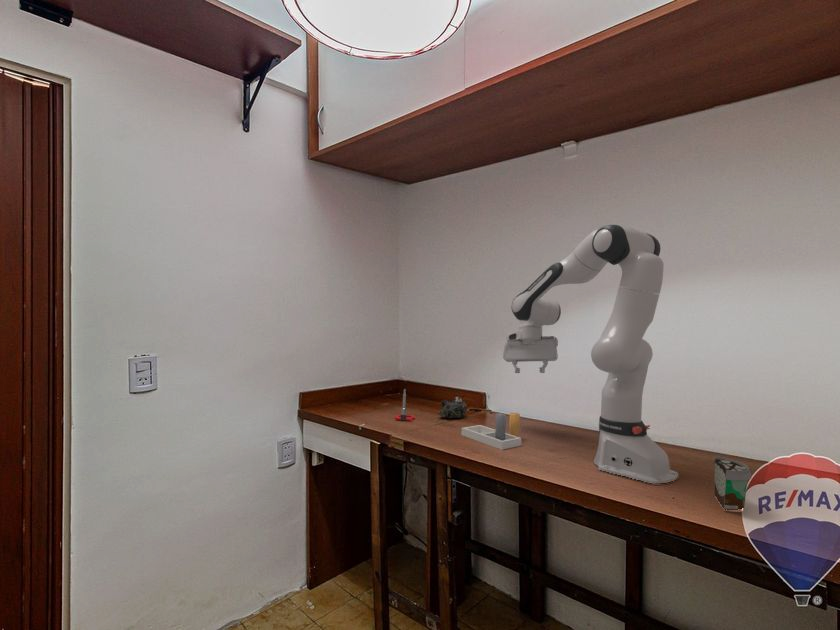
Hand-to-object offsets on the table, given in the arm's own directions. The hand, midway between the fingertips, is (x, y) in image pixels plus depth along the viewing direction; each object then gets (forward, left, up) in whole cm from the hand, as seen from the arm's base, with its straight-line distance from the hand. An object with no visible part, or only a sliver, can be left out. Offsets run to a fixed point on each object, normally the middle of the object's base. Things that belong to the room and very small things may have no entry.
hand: (529, 372), depth 168 cm
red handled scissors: (+42, +27, -23) cm, 56 cm away
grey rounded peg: (-6, +21, -22) cm, 31 cm away
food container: (-70, +6, -23) cm, 74 cm away
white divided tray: (-2, +21, -23) cm, 31 cm away
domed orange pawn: (-5, +12, -23) cm, 26 cm away
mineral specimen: (+36, +8, -23) cm, 44 cm away
